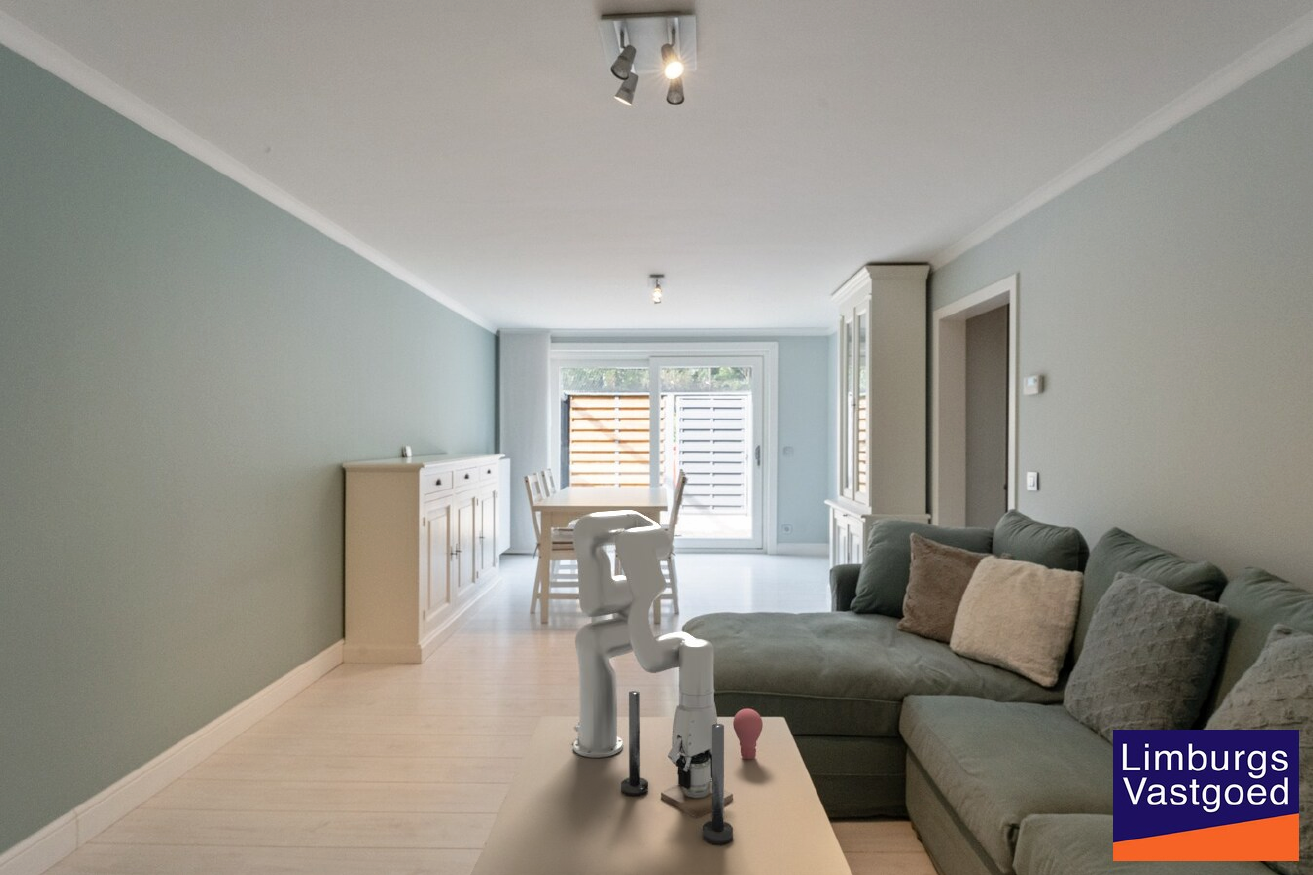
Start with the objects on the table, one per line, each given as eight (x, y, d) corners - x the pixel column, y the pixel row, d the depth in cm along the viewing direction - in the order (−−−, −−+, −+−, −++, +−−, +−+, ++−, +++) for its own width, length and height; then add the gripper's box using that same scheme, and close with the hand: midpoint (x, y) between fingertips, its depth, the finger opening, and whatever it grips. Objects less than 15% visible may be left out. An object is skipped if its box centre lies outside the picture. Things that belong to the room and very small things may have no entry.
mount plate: (661, 797, 151) (661, 792, 151) (696, 781, 159) (696, 776, 159) (697, 817, 143) (697, 811, 143) (732, 799, 150) (732, 793, 150)
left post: (615, 789, 155) (615, 692, 155) (636, 781, 159) (635, 686, 159) (633, 799, 150) (632, 699, 151) (653, 790, 154) (653, 693, 155)
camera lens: (713, 786, 153) (712, 750, 153) (707, 800, 147) (707, 763, 147) (685, 782, 155) (685, 747, 155) (678, 797, 149) (678, 760, 149)
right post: (695, 835, 136) (696, 725, 136) (716, 824, 140) (716, 717, 141) (718, 848, 132) (719, 735, 132) (739, 836, 136) (739, 726, 136)
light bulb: (745, 767, 165) (745, 717, 165) (727, 756, 171) (727, 707, 171) (768, 760, 169) (768, 711, 169) (750, 750, 175) (750, 702, 175)
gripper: (710, 684, 160) (711, 762, 160) (655, 703, 148) (655, 788, 148) (735, 693, 154) (735, 774, 154) (679, 713, 143) (679, 801, 142)
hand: (696, 780), depth 151 cm, fingers open, 6 cm apart
